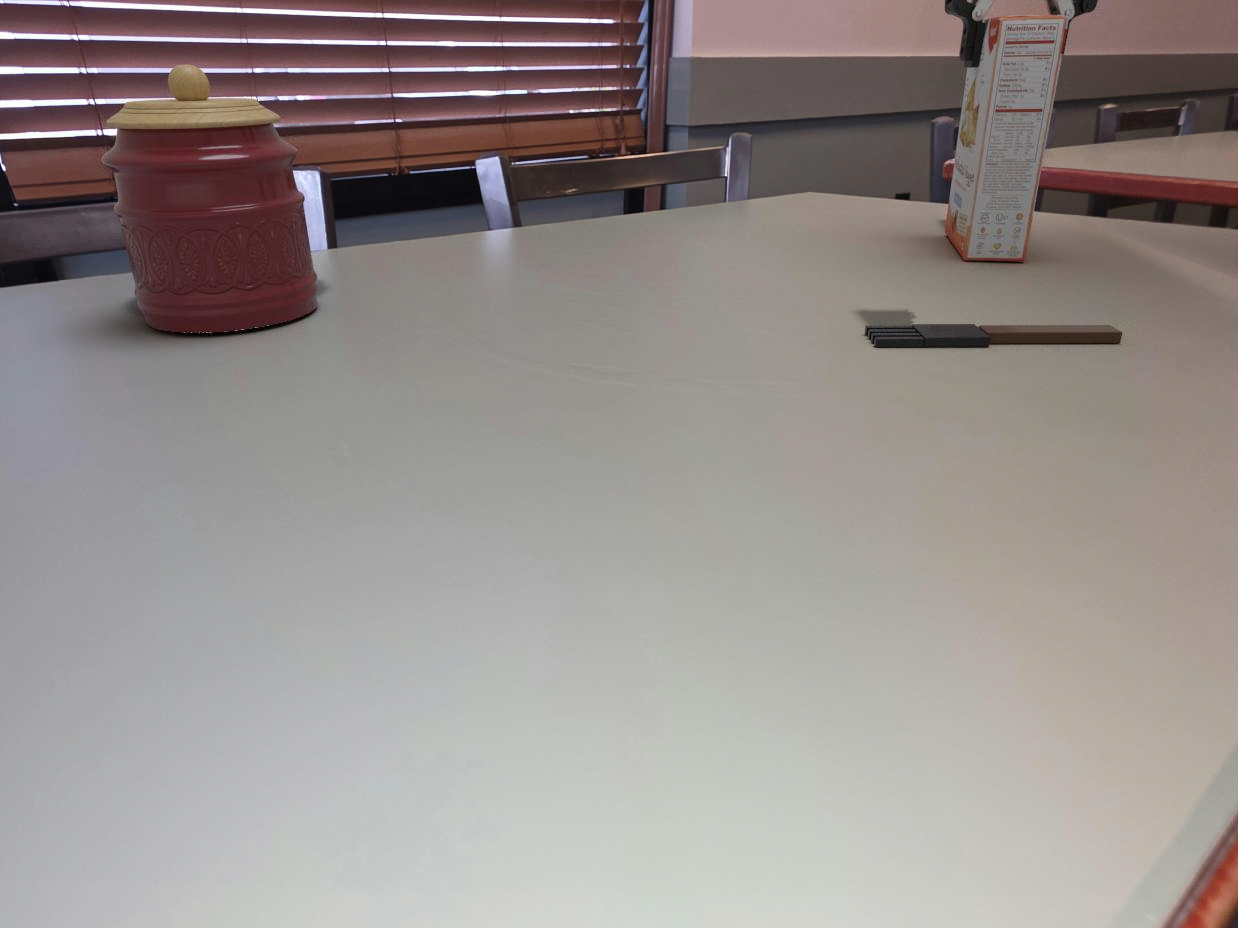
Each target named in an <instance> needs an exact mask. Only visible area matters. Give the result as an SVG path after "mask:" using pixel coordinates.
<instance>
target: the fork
mask: <svg viewBox="0 0 1238 928" xmlns="http://www.w3.org/2000/svg"><path fill="white" fill-rule="evenodd" d="M864 335H865V336H867V339H869V340H870V342H871V343H872V344H873V345H874V347H875V348H923V347H925V348H948V347H949V348H953V347H954V348H958V347H959V348H973V347H974V348H976V347H977V348H979V347H980V348H984V347H985V348H986V347H987V348H988V347H990V345H991V344H993V345H994V344H1120V343H1121V341H1122V338H1123V331H1121V330H1120V329H1117V328H1116V327H1114V326H1112V325H1111V324H1025V325H1024V324H1009V325H1008V324H1007V325H1006V324H1003V325H1002V324H1000V325H999V324H998V325H997V324H995V325H994V324H991V325H990V324H987V325H985V324H984V325H981V324H979V325H978V326H977V325H976V324H975V323H912V324H909V325H905V324H904V325H865V326H864Z"/></svg>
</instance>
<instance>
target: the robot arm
mask: <svg viewBox="0 0 1238 928" xmlns="http://www.w3.org/2000/svg"><path fill="white" fill-rule="evenodd" d="M995 1H996V0H970V2H969V1H968V0H944V12H945V13H946V14H947V15H950V16H953V17H956V18H958V19H960V20H961V22H962V25H963V27H962V32H961V41H960V47H959V54H958V55H959V60H960V61H963V66H964V68H965V69H967V68H977V67H978V66H979V63H980V57H981V51H982V45H983V38H984V32H985V25H986V23H982V21H983V20H984V19H985V17H986V16H987V14H988V12H990V9H991V8H992V6H993V4H994V3H995ZM1098 2H1099V0H1044V3H1045V6H1046V9H1047V14H1048V15H1067V16H1069V21H1068V27H1067V33H1066V38H1065V43H1064V49H1063V54H1062V58H1063V57H1064V55H1065V51H1066V45H1067V41H1068V34H1069V31H1070V30H1069V29H1070V25H1071V23H1072V21H1073V20H1074V19H1075V18H1077V17H1079V16H1081V15H1084V14H1087V13H1092V12H1094V11H1095V9H1096V8H1097V5H1098Z"/></svg>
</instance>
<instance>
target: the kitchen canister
mask: <svg viewBox="0 0 1238 928" xmlns="http://www.w3.org/2000/svg"><path fill="white" fill-rule="evenodd" d="M167 77H168V78H167V85H168V89H169V91H170V94H171V95H172V97H173V98H172V99H171V98H169V99H168V98H167V99H146V100H145V99H144V100H133V101H127V102H125V103H124V104H123V107H122V108H121V109H120V110H119V111H118V112H117V113H115V114H113V115H112V116H111V117H109V118H108V119H107V120H106V126H108V127H109V128H111V129H116V137H115V142H114V145H113V146H112V147H111V148H110V149H109V150H107V151H106V152H105V153H104V154H103V155H102V156H101V163H102V164H103V165H104V166H106V168H108V169H109V170H110V171H111V172H112V173H113V176H114V180H115V185H116V191H117V202H116V203H115V204H114V206H113V211H114V213H115V214H116V215H117V218H118V221H119V225H120V229H121V233H122V237H123V241H124V245H125V250H126V253H127V257H128V261H129V265H130V269H131V274H132V277H133V281H134V295H135V297H136V299H137V301H136V302H137V303H136V305H137V307H138V309H139V310H140V312H141V314H142V315H143V318H144V320H145V323H146V324H147V325H148V326H149V327H151V328H152V329H155V328H156V329H155V330H158V329H160V330H159V331H162V330H165V331H164V332H167V331H172V332H171V333H174V332H183V333H182V334H187V333H191V332H192V333H199V332H200V333H203V332H204V333H206V332H208V333H209V332H224V331H235V330H241V329H250V328H255V327H263V326H267V325H273V326H275V325H274V324H277V325H279V324H278V323H281V324H283V323H282V322H285V323H287V322H286V321H288V322H292V321H295V320H297V319H300V318H302V317H305V316H306V314H307V315H309V314H310V313H312V312H313V311H314V310H315V309H316V308H318V304H319V299H318V294H319V291H320V288H319V287H320V286H319V283H318V274H317V272H316V271H315V268H314V263H313V257H312V256H313V255H312V250H311V244H310V238H309V232H308V231H309V230H308V225H307V218H306V211H305V206H304V203H305V200H306V197H305V194H304V193H303V192H302V191H300V190H298V186H297V183H296V179H295V174H294V169H293V163H294V161H295V159H296V158H297V156H298V154H299V152H298V149H297V148H296V147H295V146H294V145H292V144H290V143H289V142H288V141H285V140H284V139H283V138H282V137H281V136H280V134H279V133H278V131H277V129H276V127H275V125H274V123H280V121H281V116H280V115H279V114H278V113H276V112H274V111H272V110H270V109H268V108H266V107H265V106H264V105H262V104H260V102H259V101H258V100H257V99H255V98H245V97H243V98H242V97H222V98H221V97H213V98H212V97H211V98H210V94H211V85H210V81H209V79H208V77H207V75H206V73H205V72H204V71H203V70H202V69H201V68H200V67H198V66H196V65H193V64H185V63H184V64H178V65H176V66H174V67H172V68H171V70H170V72H169V74H168V76H167ZM304 315H305V316H304ZM299 317H300V318H299ZM296 318H297V319H296ZM294 319H295V320H294ZM291 320H292V321H291ZM263 328H264V327H263ZM184 332H185V333H184ZM209 334H210V333H209Z"/></svg>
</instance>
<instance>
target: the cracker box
mask: <svg viewBox="0 0 1238 928" xmlns="http://www.w3.org/2000/svg"><path fill="white" fill-rule="evenodd" d="M1068 21H1069V16H1067V15H1049V14H1012V15H1002V16H995V17H991V18H987V19H983V21H982V23H986V25H985V32H984V38H983V45H982V51H981V57H980V63H979V66H978V67H977V68H966V75H965V83H964V89H963V90H964V91H963V97H962V104H961V112H960V119H959V126H958V133H957V140H956V147H955V156H954V163H953V171H952V178H951V182H950V183H951V184H950V190H949V191H950V192H949V198H948V205H947V213H946V221H945V227H944V233H945V235H946V236H947V237H948V239H949V240H950V242H951V243H952V245H953V246H954V247H955V249H956V250H957V252H958V254H959V255H960V256H961V258H962V259H963V261H969V262H1025V261H1026V259H1027V251H1028V247H1029V241H1030V236H1031V230H1032V224H1033V218H1034V213H1035V207H1036V201H1037V196H1038V190H1039V184H1040V179H1041V173H1042V169H1043V162H1044V157H1045V153H1046V148H1047V147H1046V146H1047V140H1048V135H1049V130H1050V125H1051V118H1052V114H1053V108H1054V102H1055V97H1056V91H1057V85H1058V80H1059V76H1060V69H1061V66H1062V59H1063V57H1062V54H1063V49H1064V43H1065V38H1066V33H1067V27H1068Z"/></svg>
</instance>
